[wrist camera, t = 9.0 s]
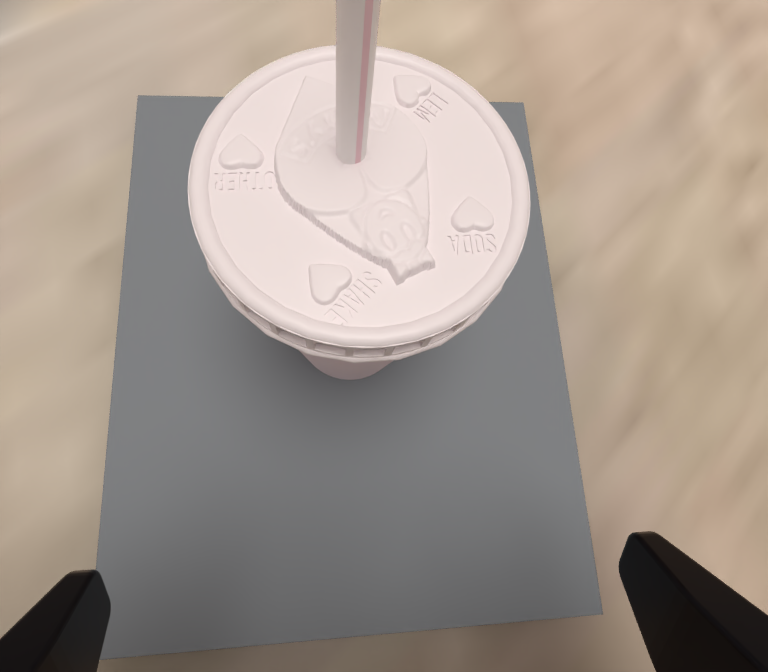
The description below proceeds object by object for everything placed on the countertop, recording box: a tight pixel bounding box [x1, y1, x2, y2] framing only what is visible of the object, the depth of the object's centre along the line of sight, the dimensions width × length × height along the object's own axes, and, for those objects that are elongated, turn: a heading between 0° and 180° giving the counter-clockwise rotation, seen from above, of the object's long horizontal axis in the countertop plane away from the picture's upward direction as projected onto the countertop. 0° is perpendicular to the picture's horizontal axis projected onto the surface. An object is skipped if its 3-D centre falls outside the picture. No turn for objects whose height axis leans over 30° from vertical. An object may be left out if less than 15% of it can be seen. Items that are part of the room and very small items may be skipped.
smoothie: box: [188, 0, 530, 380], centre depth 12 cm, size 6×6×14 cm
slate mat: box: [96, 95, 603, 660], centre depth 19 cm, size 20×16×1 cm
